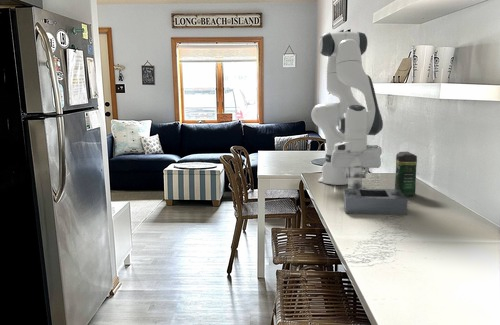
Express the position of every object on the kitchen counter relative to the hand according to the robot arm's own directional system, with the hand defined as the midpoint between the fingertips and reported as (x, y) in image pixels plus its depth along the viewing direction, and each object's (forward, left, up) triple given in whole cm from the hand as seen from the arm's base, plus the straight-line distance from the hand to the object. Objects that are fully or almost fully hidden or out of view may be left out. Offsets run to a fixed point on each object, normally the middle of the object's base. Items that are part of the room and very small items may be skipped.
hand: (355, 177), depth 177 cm
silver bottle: (0, 0, -9) cm, 9 cm away
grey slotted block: (+13, +6, -9) cm, 17 cm away
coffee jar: (-10, +22, -9) cm, 26 cm away
